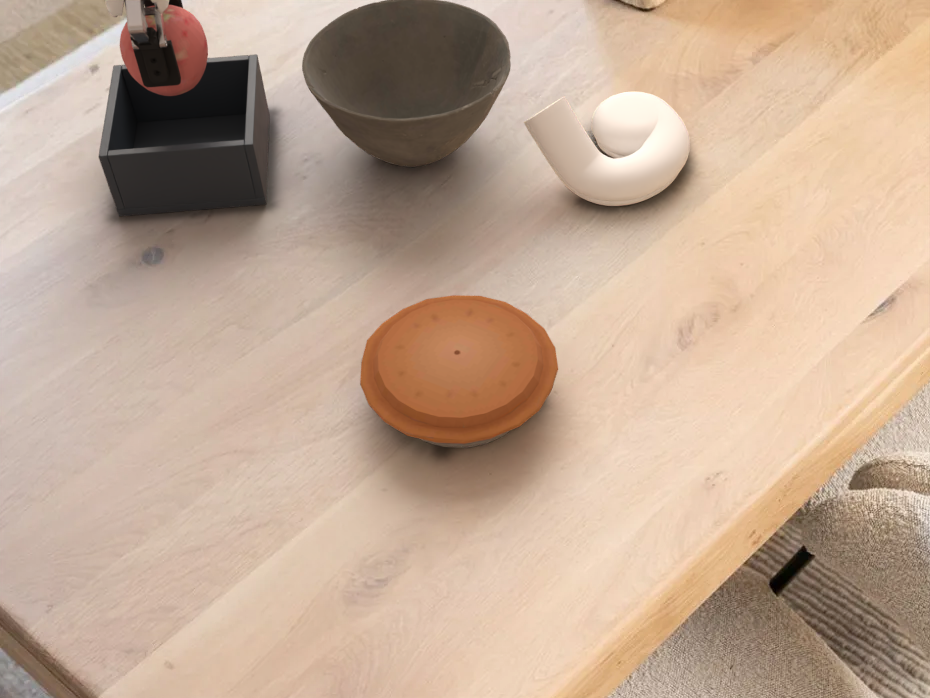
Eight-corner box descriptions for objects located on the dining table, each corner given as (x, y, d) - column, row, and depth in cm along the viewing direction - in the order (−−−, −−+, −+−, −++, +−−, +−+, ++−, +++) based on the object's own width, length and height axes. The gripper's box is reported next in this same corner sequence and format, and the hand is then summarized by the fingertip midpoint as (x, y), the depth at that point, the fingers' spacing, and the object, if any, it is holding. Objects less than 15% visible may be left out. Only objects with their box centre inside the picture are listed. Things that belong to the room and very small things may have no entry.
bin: (118, 216, 114) (98, 156, 109) (131, 125, 122) (113, 65, 117) (266, 204, 114) (253, 144, 109) (269, 114, 123) (257, 53, 117)
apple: (220, 60, 114) (201, -20, 107) (213, 110, 109) (193, 28, 103) (139, 65, 114) (116, -16, 107) (129, 114, 109) (104, 34, 103)
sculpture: (720, 151, 117) (731, 78, 110) (619, 233, 110) (624, 161, 104) (620, 100, 122) (625, 28, 116) (519, 175, 116) (517, 103, 109)
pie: (515, 305, 105) (514, 261, 101) (586, 436, 97) (589, 394, 93) (341, 355, 103) (333, 312, 99) (398, 495, 94) (392, 454, 90)
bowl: (477, 228, 112) (472, 136, 104) (286, 189, 116) (268, 98, 108) (538, 105, 122) (538, 13, 114) (362, 73, 126) (350, -18, 118)
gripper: (76, -196, 100) (132, 4, 114) (48, -84, 89) (114, 120, 104) (169, -202, 100) (214, -2, 114) (152, -92, 90) (204, 114, 104)
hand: (166, 55), depth 109 cm, fingers closed on apple, 7 cm apart
